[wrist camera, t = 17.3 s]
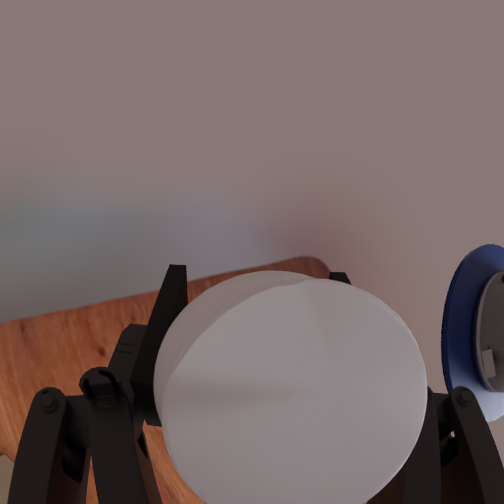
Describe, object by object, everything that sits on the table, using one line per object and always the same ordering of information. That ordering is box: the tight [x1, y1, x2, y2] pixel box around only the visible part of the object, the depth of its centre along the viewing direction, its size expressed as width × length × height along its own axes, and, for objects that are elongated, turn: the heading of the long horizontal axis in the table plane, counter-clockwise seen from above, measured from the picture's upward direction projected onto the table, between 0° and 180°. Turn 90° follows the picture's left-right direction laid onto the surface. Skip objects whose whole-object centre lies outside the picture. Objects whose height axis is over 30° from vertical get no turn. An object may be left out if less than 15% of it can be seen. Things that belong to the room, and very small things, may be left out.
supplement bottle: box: [153, 271, 427, 504], centre depth 10 cm, size 7×7×13 cm
